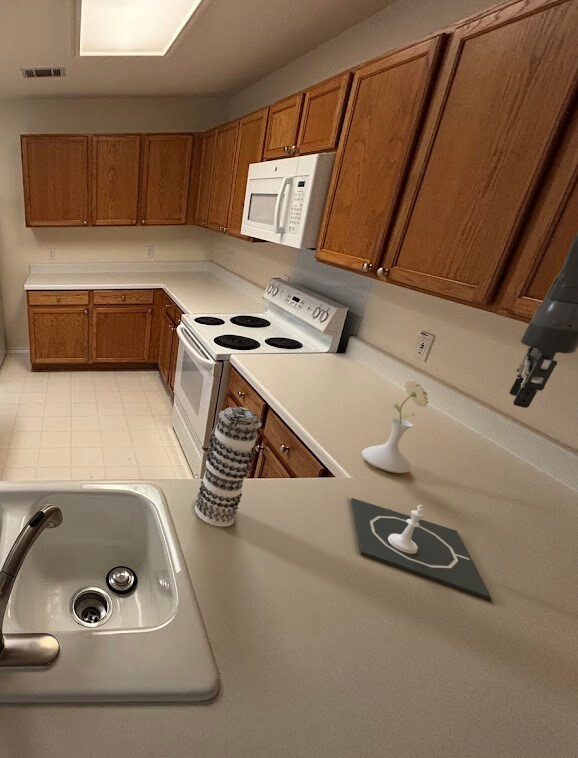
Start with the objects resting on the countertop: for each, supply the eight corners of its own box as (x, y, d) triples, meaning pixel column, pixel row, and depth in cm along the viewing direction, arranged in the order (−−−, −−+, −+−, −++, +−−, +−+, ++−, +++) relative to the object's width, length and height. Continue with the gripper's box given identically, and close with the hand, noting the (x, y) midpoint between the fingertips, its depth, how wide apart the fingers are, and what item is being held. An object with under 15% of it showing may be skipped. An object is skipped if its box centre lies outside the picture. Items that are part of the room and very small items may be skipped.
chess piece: (415, 542, 85) (434, 504, 82) (418, 557, 81) (439, 517, 78) (386, 532, 88) (404, 494, 84) (388, 546, 84) (407, 506, 80)
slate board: (455, 533, 91) (456, 530, 90) (489, 600, 74) (491, 597, 74) (350, 500, 99) (352, 497, 98) (360, 554, 82) (361, 550, 82)
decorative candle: (203, 494, 96) (227, 397, 87) (242, 513, 91) (272, 413, 82) (185, 512, 90) (209, 410, 80) (226, 534, 84) (257, 427, 75)
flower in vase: (413, 482, 109) (453, 396, 99) (363, 468, 113) (397, 385, 104) (400, 459, 120) (436, 380, 111) (355, 447, 124) (386, 370, 115)
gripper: (596, 335, 72) (548, 417, 78) (579, 324, 82) (538, 397, 88) (535, 325, 76) (495, 403, 82) (526, 316, 87) (491, 386, 93)
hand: (517, 400), depth 85 cm, fingers open, 8 cm apart
